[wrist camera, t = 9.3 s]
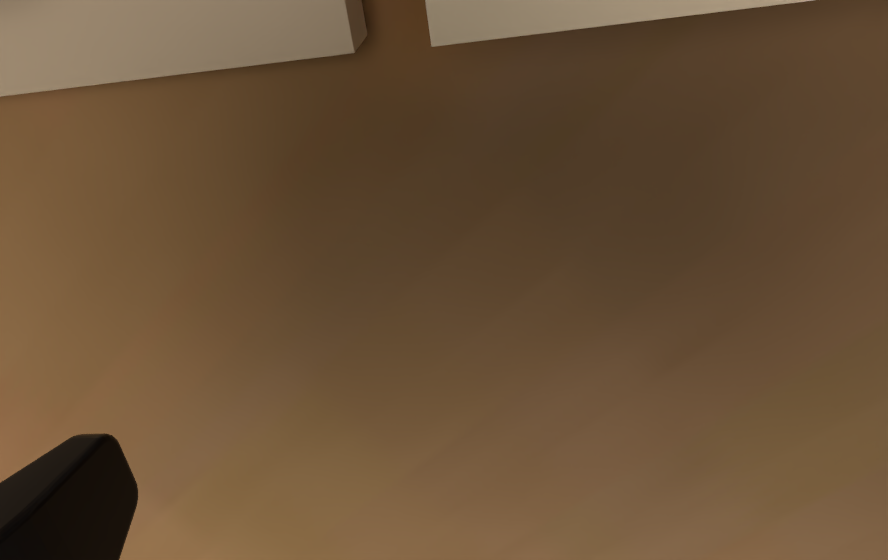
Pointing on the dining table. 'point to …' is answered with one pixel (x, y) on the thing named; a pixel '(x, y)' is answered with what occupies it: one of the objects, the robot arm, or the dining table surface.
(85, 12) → the lid
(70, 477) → the robot arm
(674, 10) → the carton
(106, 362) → the dining table surface
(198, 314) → the dining table surface
